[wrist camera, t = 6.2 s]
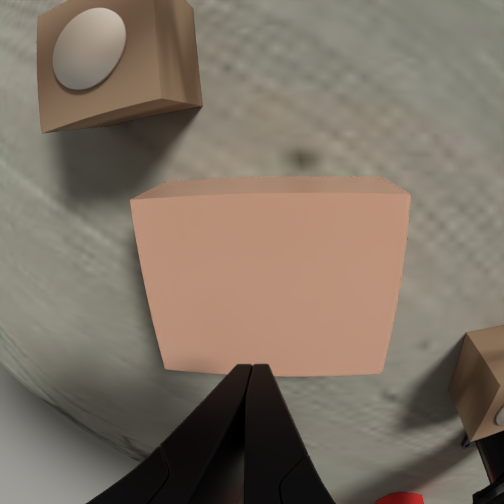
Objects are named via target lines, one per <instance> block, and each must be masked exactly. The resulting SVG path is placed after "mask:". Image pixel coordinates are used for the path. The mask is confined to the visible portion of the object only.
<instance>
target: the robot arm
mask: <svg viewBox="0 0 504 504" xmlns="http://www.w3.org/2000/svg"><path fill="white" fill-rule="evenodd" d="M160 446H161V447H159V446H158V447H157V448H156V449H155V450H154V451H153V452H152V453H151V454H150V455H149V456H148V457H147V458H146V459H144V460H143V461H142V462H141V463H140V464H139V465H138V466H137V467H136V468H134V469H133V470H132V471H131V472H129V473H128V474H127V475H126V476H124V477H123V478H122V479H120V480H119V481H118V482H116V483H115V484H113V485H112V486H111V487H109V488H108V489H106V490H105V491H104V492H103V493H101V494H100V495H98V496H96V497H95V498H93V499H92V500H91V501H89V502H88V503H86V504H238V503H239V499H240V495H241V491H242V486H243V482H244V504H336V503H335V502H334V500H333V499H332V497H331V496H330V494H329V492H328V491H327V489H326V488H325V486H324V484H323V483H322V481H321V479H320V477H319V475H318V473H317V471H316V469H315V467H314V465H313V463H312V461H311V459H310V456H309V455H308V452H307V450H306V448H305V446H304V443H303V441H302V439H301V437H300V434H299V432H298V430H297V428H296V425H295V423H294V421H293V419H292V416H291V414H290V412H289V410H288V407H287V405H286V403H285V400H284V398H283V396H282V394H281V391H280V389H279V387H278V384H277V382H276V380H275V377H274V375H273V373H272V370H271V368H270V366H269V364H267V363H264V364H254V365H252V364H237V365H235V367H234V368H233V369H232V370H231V371H230V372H229V373H228V374H227V375H226V376H225V377H224V379H223V380H222V381H221V382H220V383H219V384H218V385H217V386H216V387H215V388H214V389H213V390H212V392H211V393H210V394H209V395H208V396H207V397H206V398H205V399H204V400H203V401H202V402H201V403H200V404H199V405H198V406H197V407H196V408H195V410H194V411H193V412H192V413H191V414H190V415H189V416H188V417H187V418H186V419H185V420H184V421H183V422H182V423H181V424H180V425H179V426H178V427H177V428H176V429H175V430H174V431H173V432H172V433H171V434H170V435H169V436H168V437H167V438H166V439H165V440H164V441H163V442H162V443H161V444H160ZM461 446H462V448H463V449H466V448H469V447H472V446H477V448H478V451H479V454H480V456H481V459H482V462H483V464H484V467H485V470H486V473H487V476H488V479H489V482H490V485H489V486H487V487H486V488H484V489H482V490H481V491H478V492H476V493H475V494H473V495H472V497H473V504H504V430H503V431H501V432H498V433H495V434H492V435H490V436H487V437H484V438H481V439H478V440H475V441H471V442H470V440H469V438H468V435H466V437H465V439H464V440H463V442H462V444H461Z"/></svg>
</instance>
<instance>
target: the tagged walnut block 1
mask: <svg viewBox="0 0 504 504" xmlns="http://www.w3.org/2000/svg"><path fill="white" fill-rule="evenodd" d="M37 81H38V99H39V111H40V122H41V131H42V133H49V132H57V131H65V130H74V129H83V128H94V127H106V126H110V125H114V124H118V123H122V122H126V121H130V120H135V119H139V118H143V117H148V116H153V115H157V114H162V113H167V112H173V111H178V110H184V109H189V108H195V107H201V106H203V104H202V95H201V85H200V76H199V66H198V56H197V45H196V35H195V24H194V12H193V8H192V7H191V6H190V5H189V3H188V2H187V1H186V0H68V1H66V2H64V3H62V4H60V5H58V6H56V7H55V8H53V9H51V10H49V11H47V12H45V13H44V14H42V15H40V16H39V17H38V24H37Z"/></svg>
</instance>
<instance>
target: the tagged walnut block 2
mask: <svg viewBox="0 0 504 504" xmlns="http://www.w3.org/2000/svg"><path fill="white" fill-rule="evenodd" d="M448 391H449V393H450V395H451V397H452V400H453V402H454V404H455V406H456V409H457V411H458V413H459V416H460V418H461V420H462V423H463V425H464V428H465V430H466V433H467V435H468V438H469V440H470V442H471V441H475V440H478V439H481V438H484V437H487V436H490V435H492V434H495V433H498V432H501V431H503V430H504V325H501V326H496V327H491V328H487V329H482V330H476V331H471V332H466V335H465V339H464V342H463V346H462V349H461V352H460V355H459V358H458V362H457V365H456V368H455V371H454V374H453V376H452V379H451V382H450V385H449V388H448Z"/></svg>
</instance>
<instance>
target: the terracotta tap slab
mask: <svg viewBox="0 0 504 504" xmlns="http://www.w3.org/2000/svg"><path fill="white" fill-rule="evenodd" d="M410 200H411V194H409V193H408V192H406V191H404V190H403V189H401V188H399V187H398V186H396V185H394V184H393V183H391V182H389V181H388V180H386V179H384V178H383V177H352V176H274V177H241V178H218V179H200V180H184V181H170V182H164V183H162V184H160V185H158V186H156V187H154V188H152V189H150V190H148V191H146V192H144V193H142V194H140V195H138V196H136V197H135V198H133V199H131V200H130V204H131V211H132V218H133V224H134V230H135V236H136V242H137V248H138V253H139V259H140V264H141V269H142V274H143V279H144V284H145V289H146V294H147V298H148V303H149V307H150V311H151V316H152V320H153V324H154V328H155V332H156V336H157V340H158V344H159V348H160V352H161V356H162V359H163V363H164V367H165V369H168V370H178V371H188V372H199V373H212V374H228V373H229V372H230V371H231V370H232V369H233V368H234V367H235V365H237V364H252V365H254V364H264V363H267V364H269V366H270V368H271V370H272V373H273V375H274V376H342V375H362V374H377V373H382V371H383V367H384V363H385V359H386V355H387V351H388V346H389V342H390V338H391V333H392V328H393V323H394V318H395V313H396V308H397V303H398V297H399V291H400V285H401V279H402V272H403V265H404V258H405V250H406V242H407V233H408V223H409V212H410Z"/></svg>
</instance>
